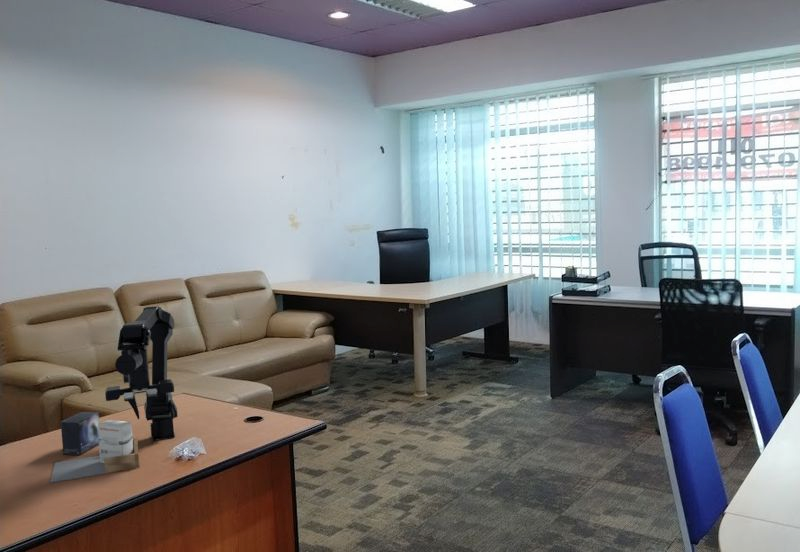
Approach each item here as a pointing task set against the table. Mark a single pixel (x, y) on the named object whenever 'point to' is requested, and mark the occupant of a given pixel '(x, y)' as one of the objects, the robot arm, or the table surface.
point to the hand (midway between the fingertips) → (142, 418)
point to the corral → (123, 460)
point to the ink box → (115, 439)
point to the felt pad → (77, 469)
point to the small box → (80, 433)
